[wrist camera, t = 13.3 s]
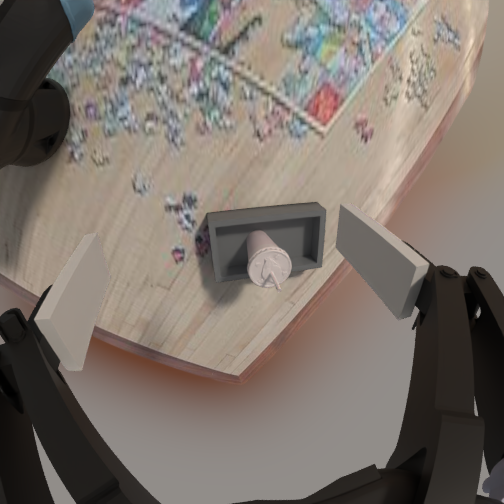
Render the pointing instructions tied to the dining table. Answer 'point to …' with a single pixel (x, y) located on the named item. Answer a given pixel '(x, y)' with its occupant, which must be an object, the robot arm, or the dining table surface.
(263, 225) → the tray
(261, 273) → the smoothie
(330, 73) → the dining table surface
